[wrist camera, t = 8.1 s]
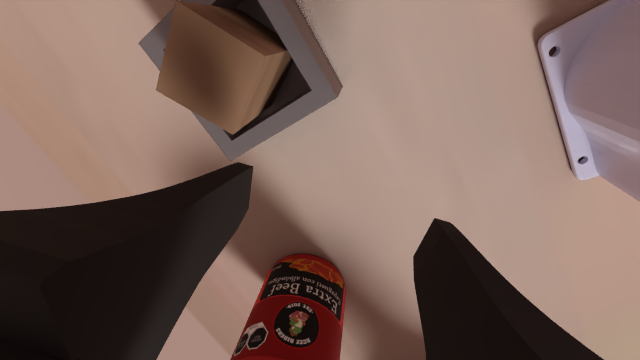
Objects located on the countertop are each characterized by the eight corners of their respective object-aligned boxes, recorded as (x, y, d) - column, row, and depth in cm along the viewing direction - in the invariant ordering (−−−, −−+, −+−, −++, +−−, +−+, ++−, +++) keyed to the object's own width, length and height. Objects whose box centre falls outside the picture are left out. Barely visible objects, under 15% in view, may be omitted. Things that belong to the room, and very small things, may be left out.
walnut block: (298, 47, 17) (265, 56, 11) (271, 104, 19) (232, 134, 13) (239, 9, 16) (176, 0, 11) (218, 72, 18) (155, 90, 13)
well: (342, 86, 18) (337, 97, 15) (249, 143, 21) (230, 161, 18) (269, -47, 15) (245, -64, 12) (174, 40, 18) (138, 43, 15)
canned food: (357, 264, 25) (347, 413, 15) (334, 318, 29) (316, 462, 19) (274, 240, 25) (214, 372, 15) (264, 296, 29) (210, 428, 19)
